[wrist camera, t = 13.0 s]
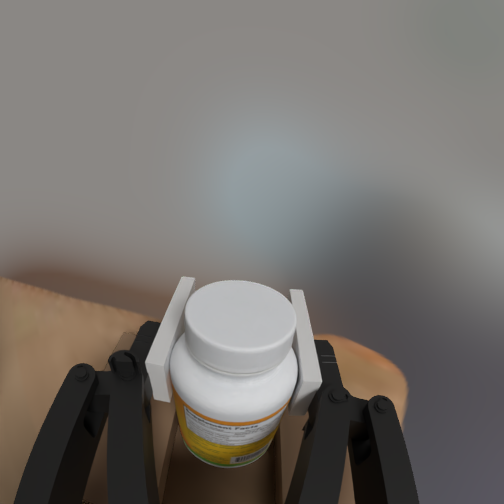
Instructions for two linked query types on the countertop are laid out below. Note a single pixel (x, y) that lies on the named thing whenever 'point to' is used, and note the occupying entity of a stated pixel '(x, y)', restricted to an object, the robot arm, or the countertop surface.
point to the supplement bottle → (233, 371)
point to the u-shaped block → (164, 437)
